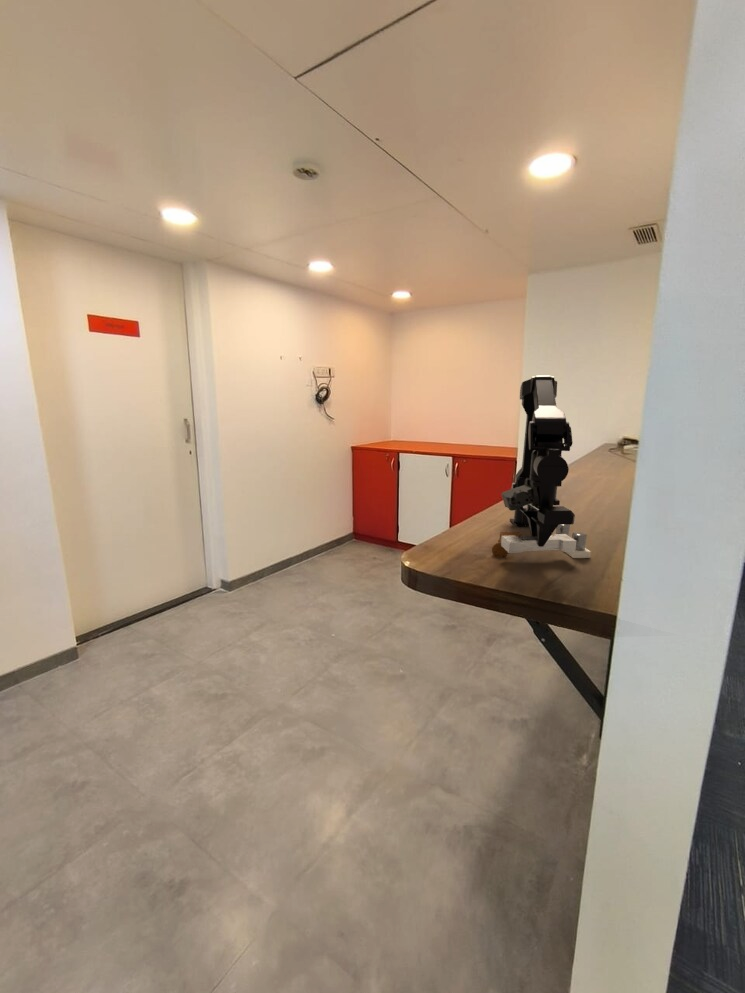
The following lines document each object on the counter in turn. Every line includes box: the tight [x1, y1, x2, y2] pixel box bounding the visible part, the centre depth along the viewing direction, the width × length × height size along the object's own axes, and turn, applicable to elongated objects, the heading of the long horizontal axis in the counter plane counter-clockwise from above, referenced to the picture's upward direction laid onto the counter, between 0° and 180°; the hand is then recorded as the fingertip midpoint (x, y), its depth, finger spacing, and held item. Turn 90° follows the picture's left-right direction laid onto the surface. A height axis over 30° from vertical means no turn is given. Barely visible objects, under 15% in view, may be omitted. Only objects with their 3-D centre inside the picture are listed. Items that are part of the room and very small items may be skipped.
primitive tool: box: [491, 531, 522, 557], centre depth 110 cm, size 19×6×4 cm, turn 158°
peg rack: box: [551, 524, 592, 559], centre depth 107 cm, size 12×4×5 cm, turn 3°
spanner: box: [501, 533, 576, 554], centre depth 99 cm, size 5×15×2 cm, turn 95°
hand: (537, 543), depth 99 cm, fingers closed on spanner, 3 cm apart
